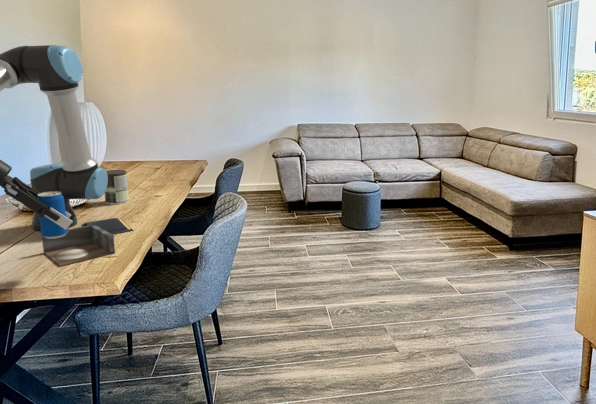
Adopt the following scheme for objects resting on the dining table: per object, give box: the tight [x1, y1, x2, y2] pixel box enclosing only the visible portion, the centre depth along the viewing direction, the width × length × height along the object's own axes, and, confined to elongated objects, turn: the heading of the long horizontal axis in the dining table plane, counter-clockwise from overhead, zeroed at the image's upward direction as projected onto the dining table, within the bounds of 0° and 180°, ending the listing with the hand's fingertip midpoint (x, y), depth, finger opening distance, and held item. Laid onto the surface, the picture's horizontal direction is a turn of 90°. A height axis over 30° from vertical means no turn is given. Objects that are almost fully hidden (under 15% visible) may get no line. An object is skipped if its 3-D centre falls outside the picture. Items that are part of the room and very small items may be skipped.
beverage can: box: [37, 191, 69, 239], centre depth 122 cm, size 6×6×12 cm
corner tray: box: [40, 224, 116, 268], centre depth 140 cm, size 16×16×6 cm
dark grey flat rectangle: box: [81, 217, 135, 236], centre depth 166 cm, size 20×2×15 cm
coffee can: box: [104, 169, 130, 206], centre depth 203 cm, size 10×10×14 cm
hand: (68, 222), depth 124 cm, fingers closed on beverage can, 6 cm apart
